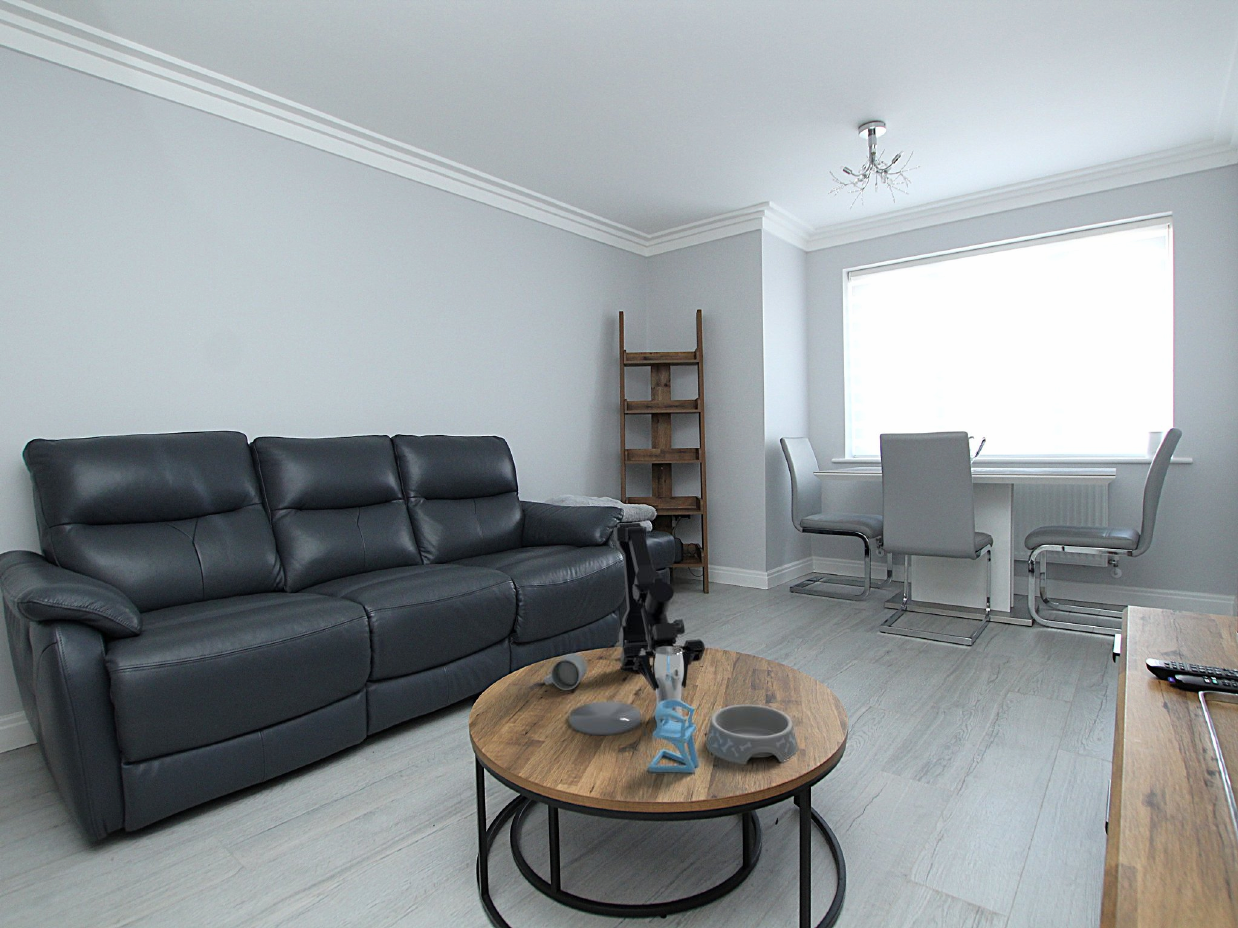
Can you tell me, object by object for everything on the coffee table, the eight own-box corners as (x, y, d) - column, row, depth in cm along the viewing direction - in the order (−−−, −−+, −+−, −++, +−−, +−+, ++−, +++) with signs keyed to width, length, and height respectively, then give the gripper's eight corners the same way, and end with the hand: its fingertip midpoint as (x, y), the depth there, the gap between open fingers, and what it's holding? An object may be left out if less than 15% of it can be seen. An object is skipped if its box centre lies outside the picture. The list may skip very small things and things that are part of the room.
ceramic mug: (588, 679, 177) (587, 650, 177) (580, 691, 169) (579, 660, 169) (549, 678, 179) (548, 649, 179) (539, 689, 171) (538, 659, 171)
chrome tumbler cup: (686, 723, 148) (684, 654, 148) (653, 723, 149) (652, 655, 148) (683, 710, 155) (682, 645, 155) (652, 710, 155) (651, 645, 155)
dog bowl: (811, 762, 130) (810, 734, 130) (715, 768, 128) (715, 740, 128) (783, 725, 147) (782, 700, 147) (698, 730, 145) (697, 705, 145)
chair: (690, 779, 124) (690, 713, 124) (647, 771, 127) (646, 707, 127) (702, 760, 131) (701, 698, 131) (661, 753, 134) (660, 693, 134)
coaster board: (553, 721, 151) (553, 717, 151) (604, 700, 163) (604, 696, 163) (606, 742, 140) (606, 737, 140) (656, 717, 152) (656, 713, 152)
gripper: (621, 609, 153) (633, 675, 143) (701, 604, 157) (718, 667, 146) (616, 635, 161) (626, 698, 151) (692, 629, 165) (707, 690, 154)
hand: (670, 688), depth 150 cm, fingers closed on chrome tumbler cup, 6 cm apart
